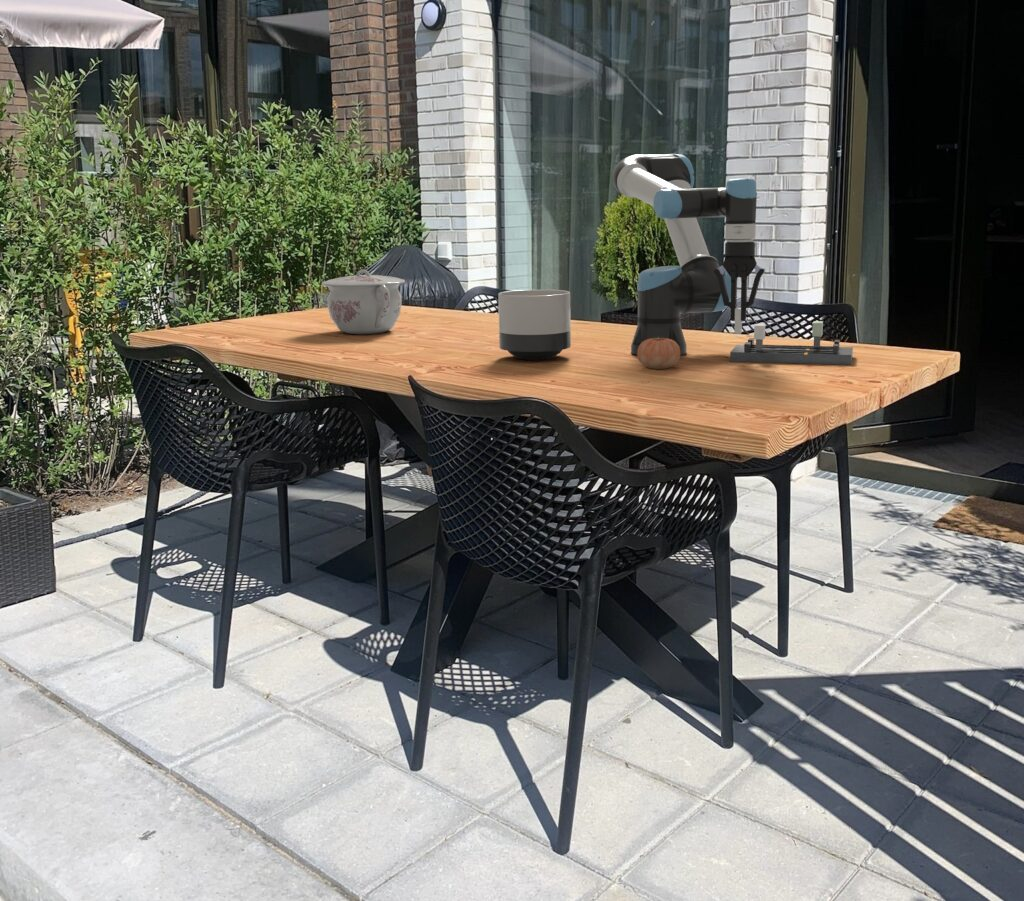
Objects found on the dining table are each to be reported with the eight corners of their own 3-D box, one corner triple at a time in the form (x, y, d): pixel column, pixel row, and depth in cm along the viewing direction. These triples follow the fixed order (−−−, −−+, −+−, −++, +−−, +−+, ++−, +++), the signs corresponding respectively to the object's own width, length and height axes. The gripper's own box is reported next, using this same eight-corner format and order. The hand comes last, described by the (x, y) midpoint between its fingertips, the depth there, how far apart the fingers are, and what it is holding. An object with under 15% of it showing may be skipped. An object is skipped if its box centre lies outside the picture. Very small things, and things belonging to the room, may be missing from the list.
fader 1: (753, 350, 279) (754, 325, 277) (755, 348, 282) (756, 323, 281) (763, 351, 278) (763, 325, 277) (764, 348, 282) (765, 323, 280)
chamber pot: (338, 327, 374) (334, 266, 369) (415, 326, 370) (413, 265, 366) (312, 337, 347) (308, 272, 343) (396, 337, 343) (393, 271, 339)
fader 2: (811, 347, 282) (812, 322, 280) (812, 345, 286) (813, 321, 284) (821, 348, 281) (822, 323, 280) (821, 345, 285) (823, 321, 283)
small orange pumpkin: (669, 372, 265) (670, 340, 263) (629, 369, 271) (629, 338, 269) (687, 366, 274) (687, 335, 272) (648, 363, 280) (648, 333, 278)
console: (729, 362, 278) (729, 345, 277) (736, 353, 293) (737, 337, 292) (850, 366, 269) (851, 348, 268) (852, 356, 284) (853, 339, 283)
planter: (579, 354, 299) (578, 289, 295) (559, 364, 282) (558, 296, 278) (513, 352, 306) (511, 289, 302) (489, 362, 288) (487, 295, 284)
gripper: (712, 241, 274) (710, 334, 279) (764, 241, 270) (761, 335, 275) (716, 240, 281) (714, 331, 286) (767, 240, 277) (765, 332, 282)
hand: (738, 333), depth 281 cm, fingers closed
